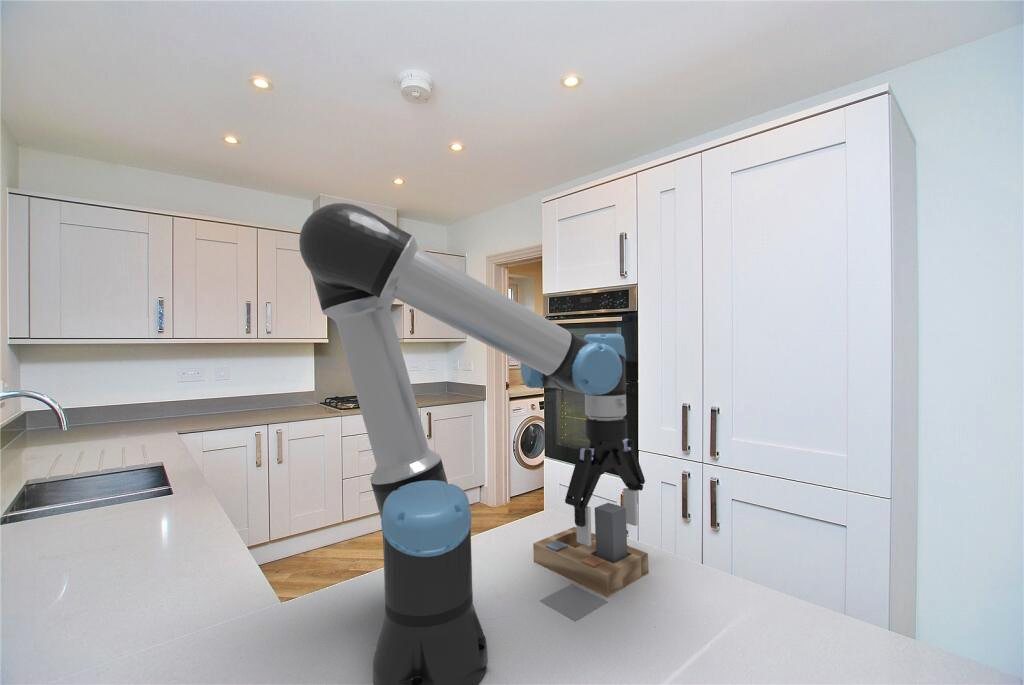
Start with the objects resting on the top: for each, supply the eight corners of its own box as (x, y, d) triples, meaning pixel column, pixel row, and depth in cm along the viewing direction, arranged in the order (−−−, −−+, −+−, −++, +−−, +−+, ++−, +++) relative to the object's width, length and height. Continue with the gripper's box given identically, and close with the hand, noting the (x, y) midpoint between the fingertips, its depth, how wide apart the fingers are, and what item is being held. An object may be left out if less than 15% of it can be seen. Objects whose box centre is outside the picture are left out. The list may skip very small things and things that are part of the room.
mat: (575, 624, 71) (575, 621, 71) (539, 603, 77) (539, 600, 77) (608, 604, 76) (608, 601, 76) (572, 586, 83) (572, 583, 83)
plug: (614, 581, 83) (612, 513, 83) (596, 573, 86) (594, 507, 86) (628, 573, 85) (625, 507, 86) (610, 566, 88) (608, 502, 89)
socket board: (607, 599, 78) (606, 572, 78) (533, 563, 92) (533, 541, 92) (648, 575, 86) (647, 550, 86) (575, 545, 99) (574, 524, 99)
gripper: (575, 427, 75) (578, 560, 75) (661, 412, 91) (664, 521, 91) (543, 422, 81) (545, 546, 81) (629, 409, 97) (631, 511, 97)
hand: (608, 533), depth 86 cm, fingers open, 13 cm apart
